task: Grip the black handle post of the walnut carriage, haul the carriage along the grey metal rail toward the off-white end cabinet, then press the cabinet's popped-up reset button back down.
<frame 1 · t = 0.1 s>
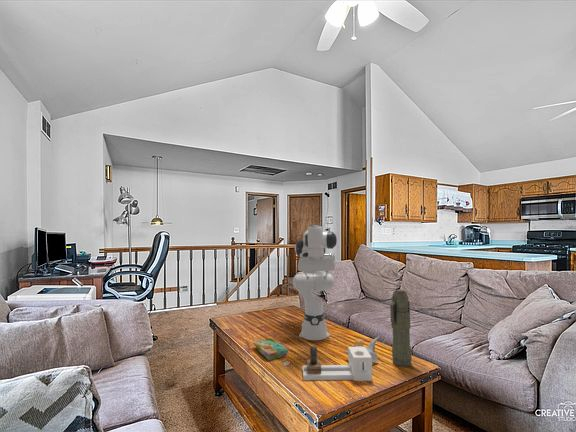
hand: (316, 279, 167), 39 cm above the table, tool pointing down, fingers open, 8 cm apart
thermos: (401, 363, 150), on the table
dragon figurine: (364, 359, 156), on the table
carriage: (313, 358, 140), point 7 cm above the table, slide at 0.0 cm
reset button: (359, 342, 140), point 14 cm above the table, slide at 3.0 cm
puzzle game: (269, 353, 165), on the table
rail base: (322, 374, 139), on the table
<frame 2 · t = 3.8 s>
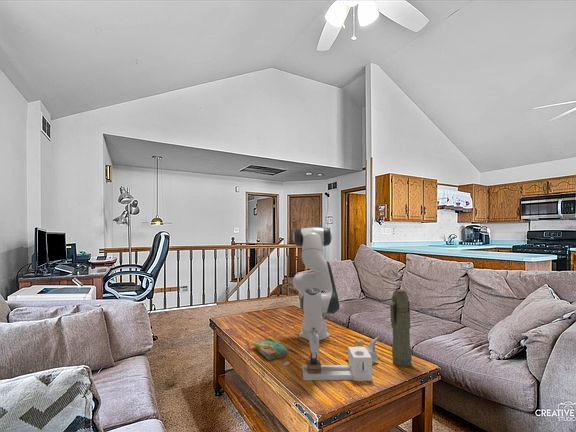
hand: (313, 355, 140), 9 cm above the table, tool pointing down, fingers closed on carriage, 3 cm apart
carriage: (313, 358, 140), point 7 cm above the table, slide at 0.0 cm, touching gripper
everything else where it was.
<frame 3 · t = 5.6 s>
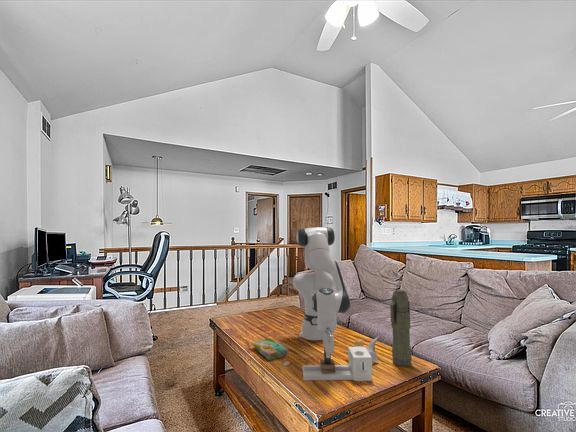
hand: (327, 355, 140), 9 cm above the table, tool pointing down, fingers closed on carriage, 3 cm apart
carriage: (327, 358, 140), point 7 cm above the table, slide at 6.3 cm, touching gripper
everything else where it was.
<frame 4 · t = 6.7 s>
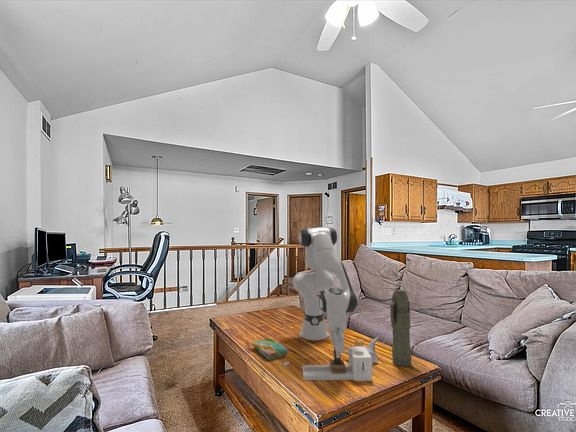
hand: (337, 355, 140), 9 cm above the table, tool pointing down, fingers closed on carriage, 3 cm apart
carriage: (337, 358, 139), point 7 cm above the table, slide at 10.8 cm, touching gripper
everything else where it was.
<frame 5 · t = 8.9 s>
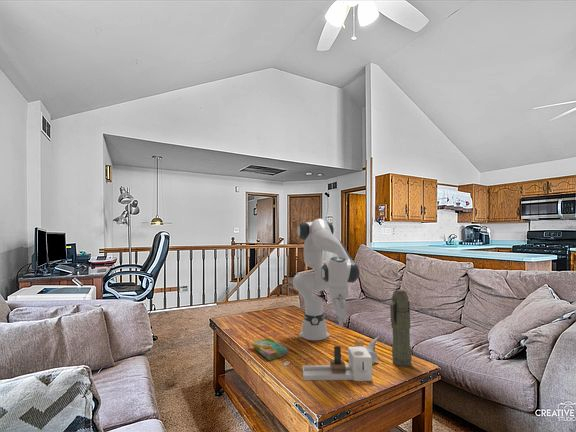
hand: (339, 323, 140), 23 cm above the table, tool pointing down, fingers open, 8 cm apart
carriage: (337, 358, 139), point 7 cm above the table, slide at 10.9 cm
everything else where it was.
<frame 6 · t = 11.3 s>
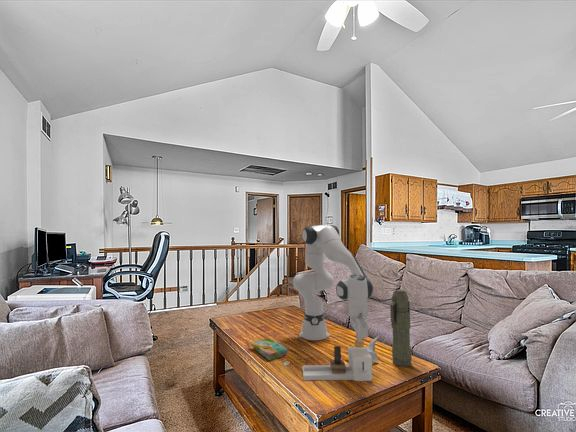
hand: (359, 341, 140), 15 cm above the table, tool pointing down, fingers closed, pressing on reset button
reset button: (359, 343, 140), point 14 cm above the table, slide at 2.4 cm, touching gripper
everything else where it was.
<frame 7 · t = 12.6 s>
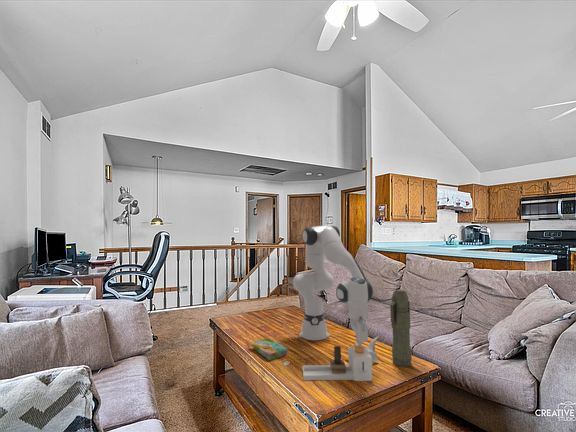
hand: (359, 344, 140), 13 cm above the table, tool pointing down, fingers closed
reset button: (359, 349, 140), point 11 cm above the table, slide at -0.1 cm
everything else where it was.
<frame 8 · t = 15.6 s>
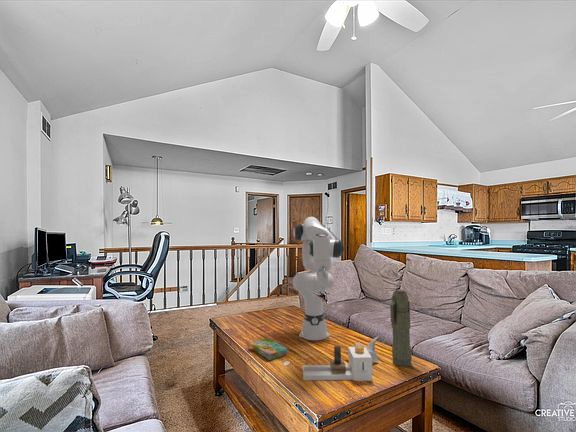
hand: (322, 293, 154), 34 cm above the table, tool pointing down, fingers closed
at the end: carriage slide at 10.9 cm; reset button slide at -0.1 cm; the gripper is holding nothing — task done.
